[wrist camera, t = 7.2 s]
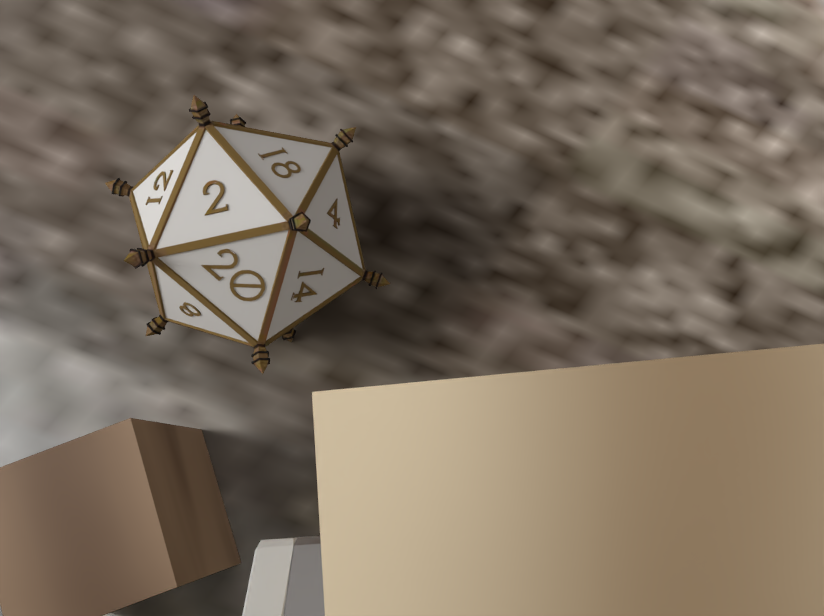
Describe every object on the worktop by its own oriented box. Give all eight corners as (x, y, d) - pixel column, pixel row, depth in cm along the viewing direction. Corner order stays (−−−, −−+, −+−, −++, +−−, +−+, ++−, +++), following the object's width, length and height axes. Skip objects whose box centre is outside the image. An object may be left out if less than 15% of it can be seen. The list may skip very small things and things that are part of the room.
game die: (346, 283, 33) (483, 278, 24) (175, 400, 30) (264, 443, 21) (237, 90, 31) (346, 9, 22) (36, 193, 27) (71, 143, 18)
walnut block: (110, 612, 27) (10, 649, 22) (75, 477, 29) (-29, 478, 23) (241, 562, 27) (177, 586, 22) (201, 429, 29) (130, 418, 23)
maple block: (416, 704, 15) (348, 1037, 6) (395, 440, 16) (311, 392, 7) (681, 684, 15) (1013, 996, 6) (640, 417, 16) (869, 339, 7)
